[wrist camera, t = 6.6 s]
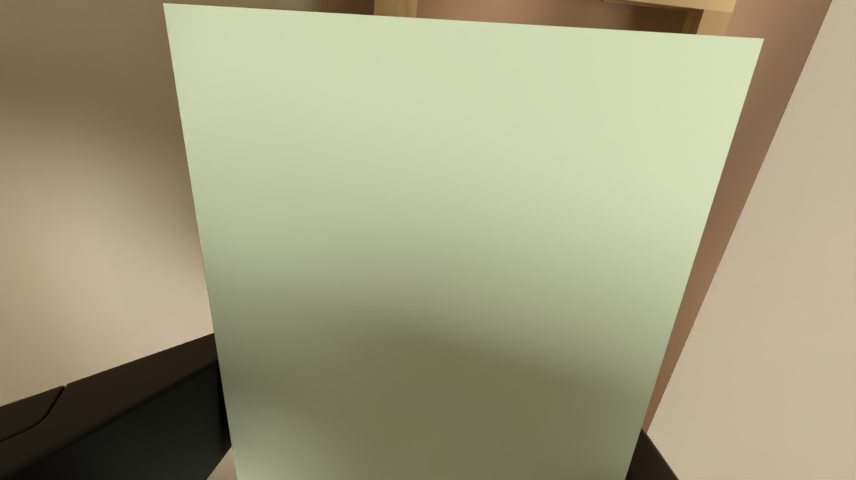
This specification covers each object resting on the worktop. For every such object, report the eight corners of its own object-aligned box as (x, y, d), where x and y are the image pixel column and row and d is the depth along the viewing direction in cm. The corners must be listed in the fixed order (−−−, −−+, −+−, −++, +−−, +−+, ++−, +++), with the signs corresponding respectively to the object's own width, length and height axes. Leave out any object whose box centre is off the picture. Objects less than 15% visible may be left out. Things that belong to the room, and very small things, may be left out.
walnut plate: (839, -65, 13) (915, -92, 10) (632, 436, 20) (640, 502, 17) (342, -107, 15) (288, -137, 13) (327, 347, 23) (292, 392, 20)
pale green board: (691, 34, 7) (763, 38, 4) (552, 576, 12) (543, 737, 9) (300, 11, 8) (162, 2, 5) (324, 503, 13) (259, 625, 10)
